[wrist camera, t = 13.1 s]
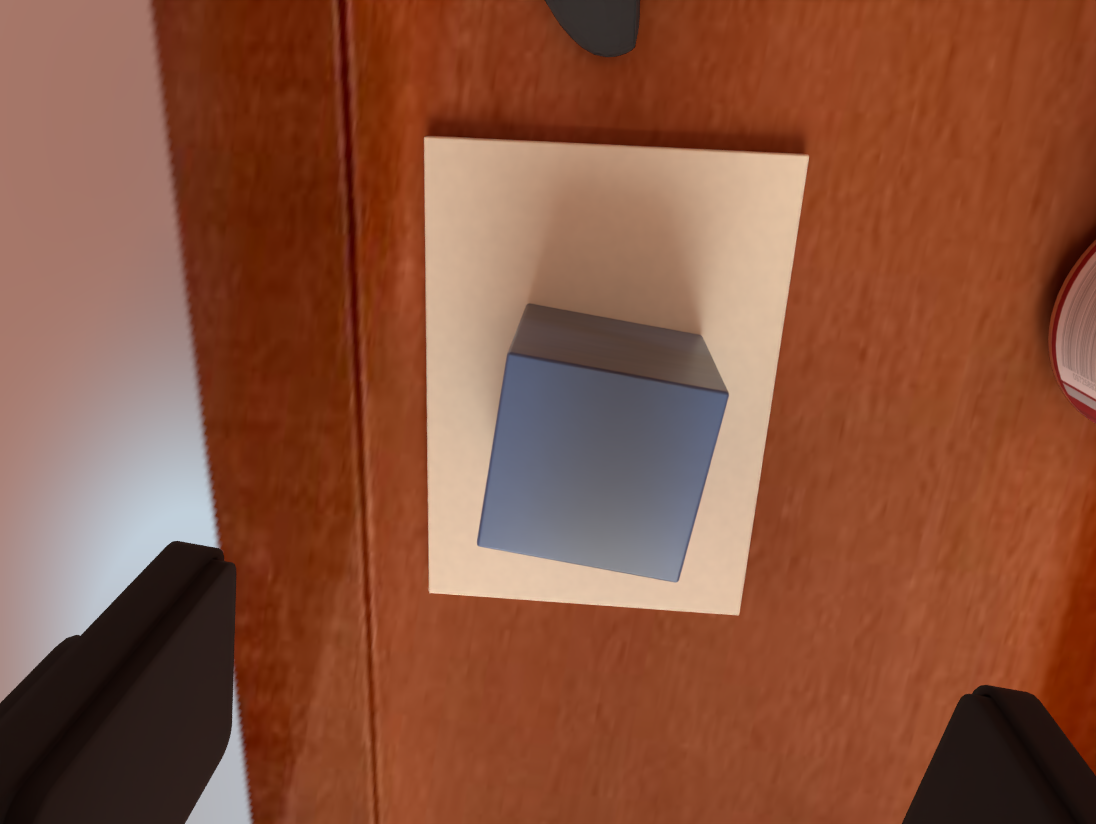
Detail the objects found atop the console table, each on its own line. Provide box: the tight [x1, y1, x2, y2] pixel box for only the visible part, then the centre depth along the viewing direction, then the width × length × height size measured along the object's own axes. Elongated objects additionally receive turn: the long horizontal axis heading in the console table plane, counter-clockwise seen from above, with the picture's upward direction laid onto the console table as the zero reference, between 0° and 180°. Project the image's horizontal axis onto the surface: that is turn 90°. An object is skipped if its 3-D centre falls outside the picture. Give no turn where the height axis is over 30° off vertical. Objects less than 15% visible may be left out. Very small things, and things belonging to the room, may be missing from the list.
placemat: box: [424, 136, 809, 615], centre depth 23 cm, size 14×10×1 cm
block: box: [477, 303, 729, 583], centre depth 21 cm, size 5×5×5 cm
